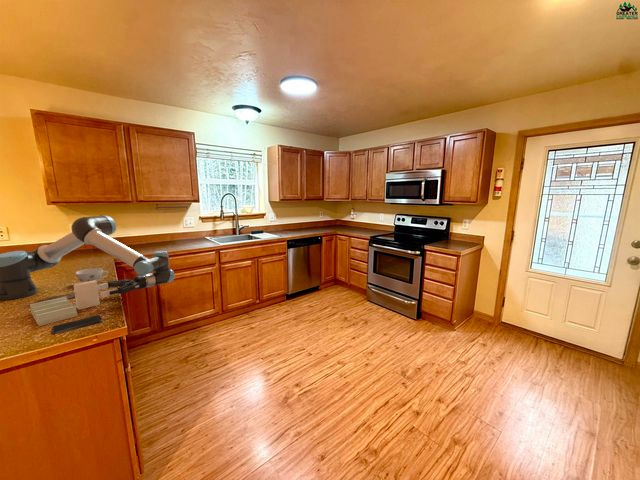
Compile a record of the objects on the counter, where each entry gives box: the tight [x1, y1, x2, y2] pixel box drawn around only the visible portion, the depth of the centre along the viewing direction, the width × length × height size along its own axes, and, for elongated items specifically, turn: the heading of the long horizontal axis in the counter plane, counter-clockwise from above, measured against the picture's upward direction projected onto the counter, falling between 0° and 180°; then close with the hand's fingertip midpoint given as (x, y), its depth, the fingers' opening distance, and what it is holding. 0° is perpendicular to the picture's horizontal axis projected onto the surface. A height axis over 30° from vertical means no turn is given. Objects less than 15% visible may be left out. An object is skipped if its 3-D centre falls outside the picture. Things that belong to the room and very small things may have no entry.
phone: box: [51, 314, 103, 335], centre depth 109 cm, size 8×1×15 cm
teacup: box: [75, 267, 109, 283], centre depth 162 cm, size 15×12×8 cm
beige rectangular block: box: [72, 280, 101, 311], centre depth 127 cm, size 4×8×12 cm, turn 144°
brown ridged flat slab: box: [21, 292, 75, 309], centre depth 136 cm, size 26×11×1 cm, turn 146°
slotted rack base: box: [29, 297, 78, 327], centre depth 118 cm, size 20×12×4 cm, turn 54°
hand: (96, 291), depth 129 cm, fingers open, 13 cm apart
